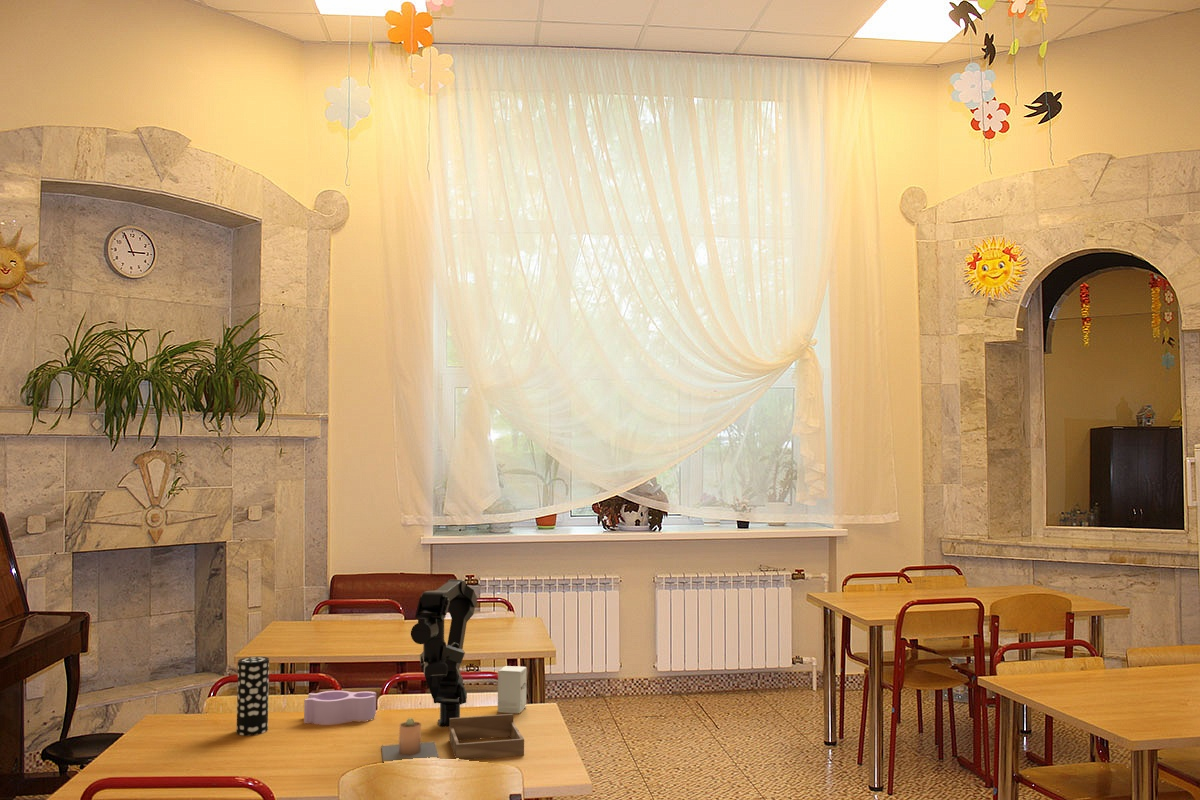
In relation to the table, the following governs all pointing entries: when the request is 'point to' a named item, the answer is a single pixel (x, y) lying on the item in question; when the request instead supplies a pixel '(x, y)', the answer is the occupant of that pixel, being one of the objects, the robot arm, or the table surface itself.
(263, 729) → the white-spotted black cylinder
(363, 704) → the lavender two-hole holder
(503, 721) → the frame
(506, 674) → the supplement box
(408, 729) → the terracotta pot
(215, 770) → the table surface
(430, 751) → the mat
